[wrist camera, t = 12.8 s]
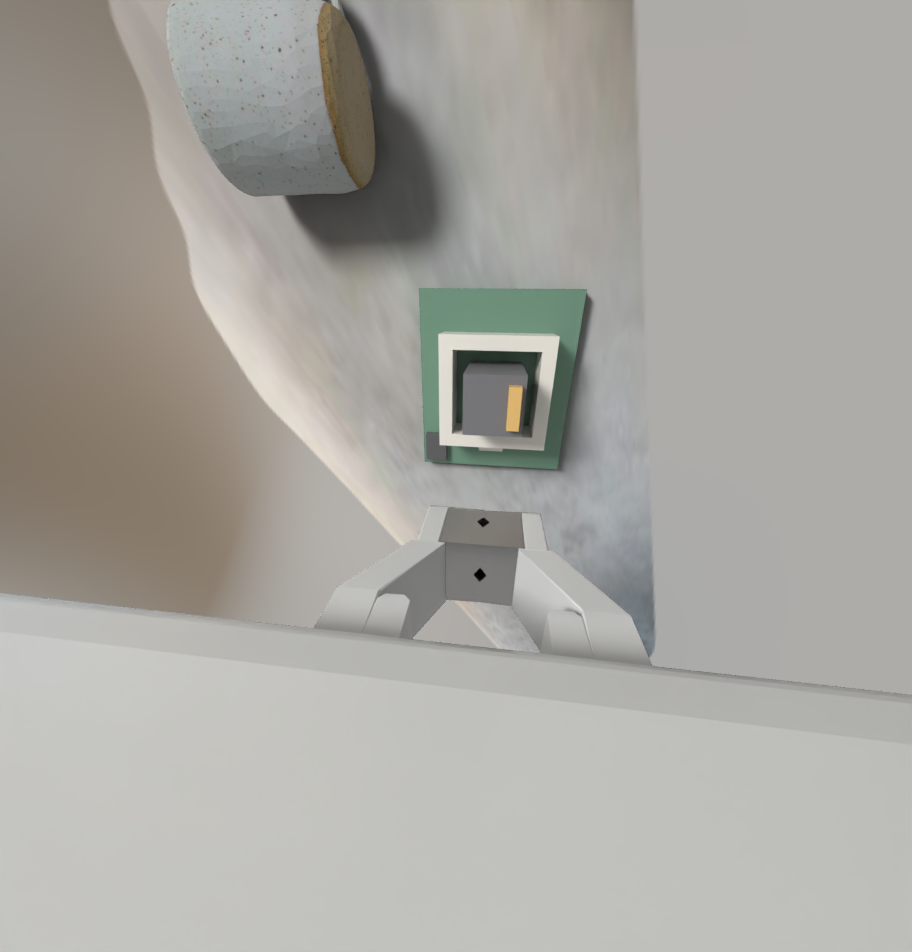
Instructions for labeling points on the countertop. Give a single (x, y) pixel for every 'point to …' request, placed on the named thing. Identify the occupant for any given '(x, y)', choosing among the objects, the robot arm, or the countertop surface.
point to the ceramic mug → (275, 93)
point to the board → (498, 340)
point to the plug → (494, 398)
